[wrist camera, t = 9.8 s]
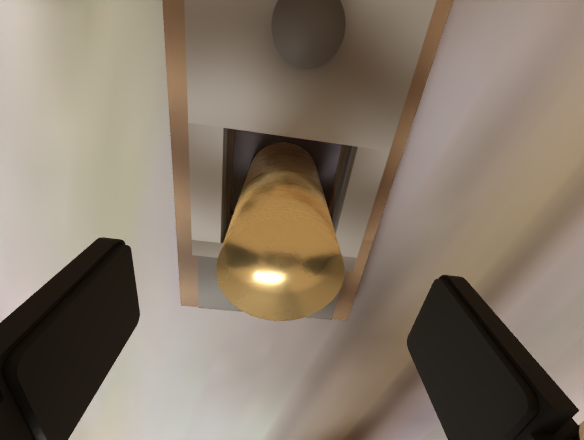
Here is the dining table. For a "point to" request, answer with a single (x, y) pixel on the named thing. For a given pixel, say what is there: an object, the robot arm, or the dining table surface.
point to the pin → (281, 240)
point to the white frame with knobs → (291, 112)
